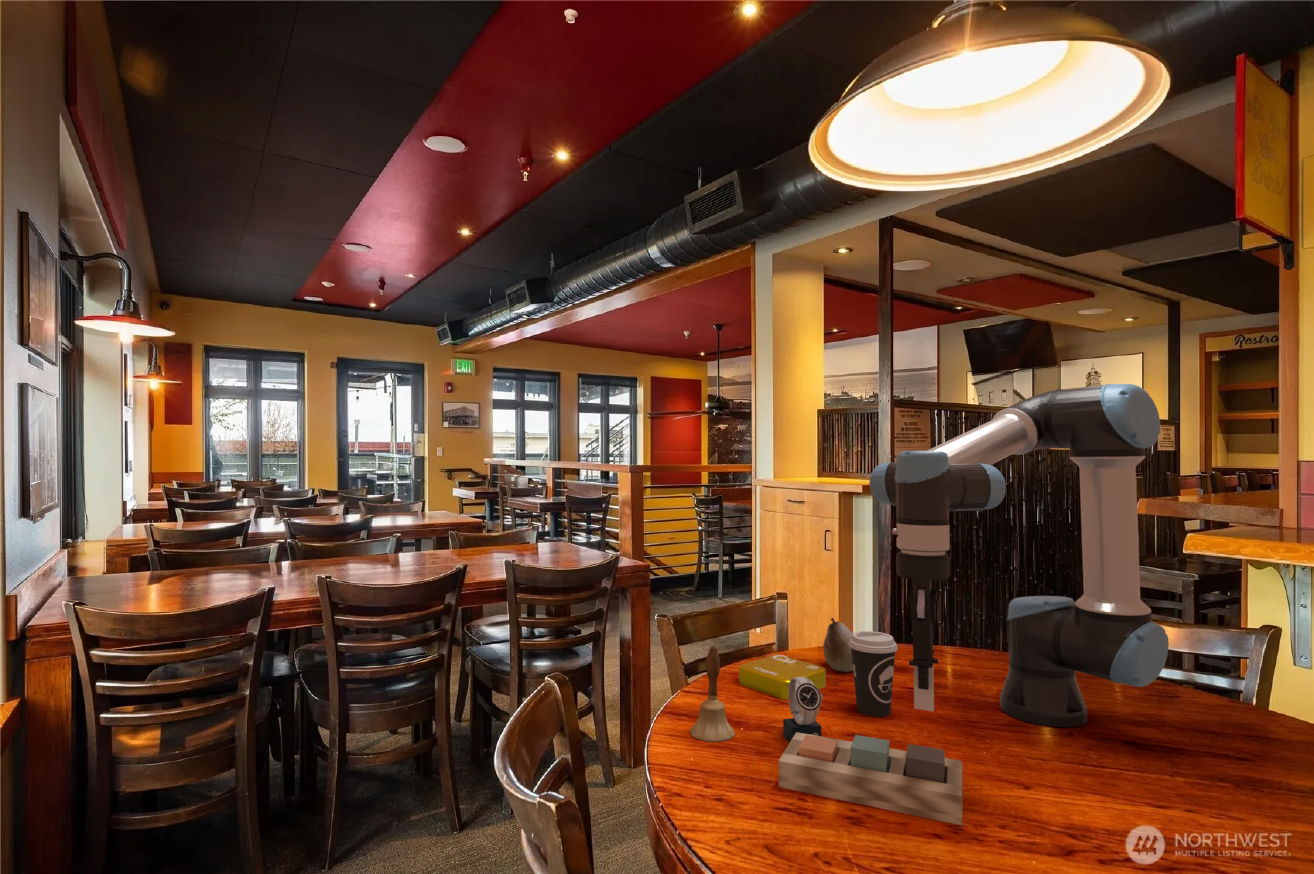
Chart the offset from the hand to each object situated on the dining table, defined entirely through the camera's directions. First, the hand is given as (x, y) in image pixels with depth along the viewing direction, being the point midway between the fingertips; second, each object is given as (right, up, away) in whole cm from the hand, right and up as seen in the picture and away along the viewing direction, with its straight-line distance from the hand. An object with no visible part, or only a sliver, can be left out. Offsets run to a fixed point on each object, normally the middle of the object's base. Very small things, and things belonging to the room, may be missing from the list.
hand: (924, 708), depth 101 cm
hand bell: (-30, -14, +23) cm, 41 cm away
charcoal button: (0, -11, 0) cm, 11 cm away
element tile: (-12, -16, +50) cm, 54 cm away
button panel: (-7, -14, +3) cm, 16 cm away
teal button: (-7, -11, +3) cm, 13 cm away
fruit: (+5, -16, +61) cm, 63 cm away
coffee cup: (+4, -15, +34) cm, 38 cm away
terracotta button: (-14, -12, +6) cm, 20 cm away
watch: (-14, -14, +20) cm, 29 cm away
